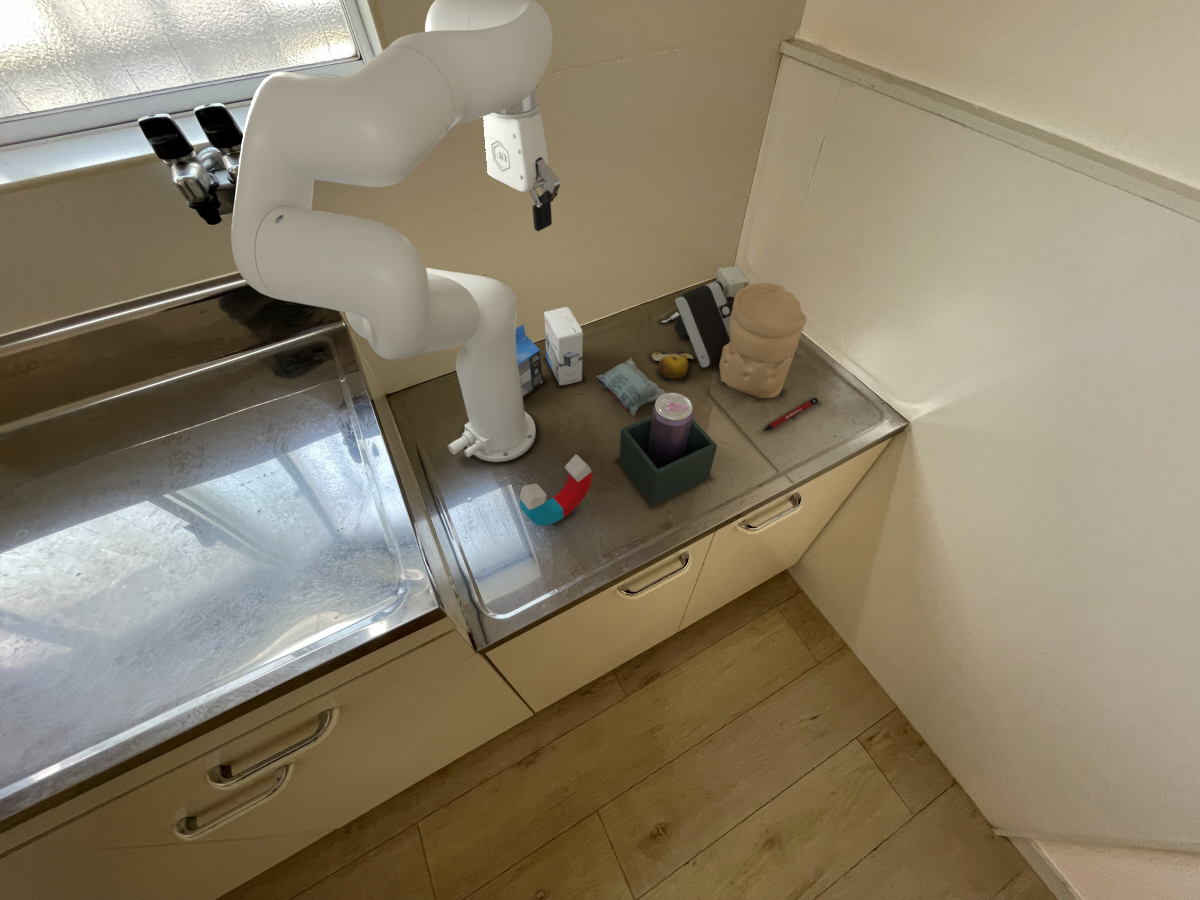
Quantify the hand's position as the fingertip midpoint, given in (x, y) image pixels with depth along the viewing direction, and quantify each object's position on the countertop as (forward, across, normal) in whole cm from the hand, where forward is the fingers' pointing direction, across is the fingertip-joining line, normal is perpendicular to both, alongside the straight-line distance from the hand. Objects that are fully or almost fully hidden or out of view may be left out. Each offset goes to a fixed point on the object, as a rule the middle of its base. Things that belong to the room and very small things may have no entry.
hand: (522, 216), depth 90 cm
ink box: (+31, +6, +2) cm, 31 cm away
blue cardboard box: (+31, +4, -8) cm, 32 cm away
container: (+30, +34, +24) cm, 52 cm away
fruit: (+31, +21, +18) cm, 41 cm away
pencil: (+30, +45, +22) cm, 58 cm away
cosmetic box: (+30, +21, +35) cm, 51 cm away
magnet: (+31, +29, -22) cm, 48 cm away
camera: (+26, +19, +22) cm, 39 cm away
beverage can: (+30, +36, -4) cm, 47 cm away
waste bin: (+30, +36, -4) cm, 47 cm away
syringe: (+30, +10, +31) cm, 44 cm away
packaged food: (+31, +20, +6) cm, 37 cm away
